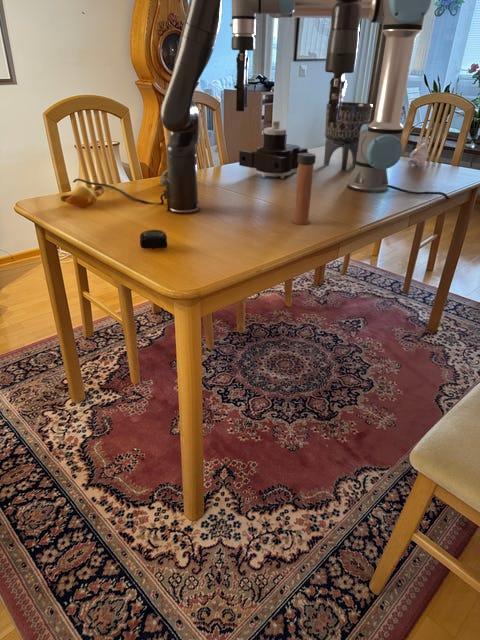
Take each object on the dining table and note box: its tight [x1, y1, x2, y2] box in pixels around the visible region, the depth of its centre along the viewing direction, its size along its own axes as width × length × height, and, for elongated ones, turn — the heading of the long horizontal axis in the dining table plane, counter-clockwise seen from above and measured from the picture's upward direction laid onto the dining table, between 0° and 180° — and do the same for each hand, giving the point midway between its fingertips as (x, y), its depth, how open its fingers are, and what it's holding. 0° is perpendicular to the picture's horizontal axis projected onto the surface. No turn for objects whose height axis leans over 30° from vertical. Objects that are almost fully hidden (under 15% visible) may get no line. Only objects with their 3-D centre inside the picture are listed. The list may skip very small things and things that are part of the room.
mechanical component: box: [238, 120, 310, 179], centre depth 191 cm, size 22×21×30 cm
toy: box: [60, 185, 105, 208], centre depth 150 cm, size 11×6×15 cm
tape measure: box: [139, 229, 168, 250], centre depth 117 cm, size 7×7×4 cm
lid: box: [297, 152, 317, 165], centre depth 130 cm, size 5×5×2 cm
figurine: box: [407, 136, 430, 167], centre depth 213 cm, size 8×15×13 cm, turn 145°
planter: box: [323, 101, 374, 172], centre depth 204 cm, size 20×20×26 cm
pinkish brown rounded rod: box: [293, 163, 315, 225], centre depth 134 cm, size 4×4×19 cm
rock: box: [159, 168, 168, 187], centre depth 175 cm, size 13×9×6 cm, turn 131°
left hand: (333, 120), depth 123 cm, fingers open, 8 cm apart
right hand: (241, 109), depth 155 cm, fingers open, 13 cm apart
